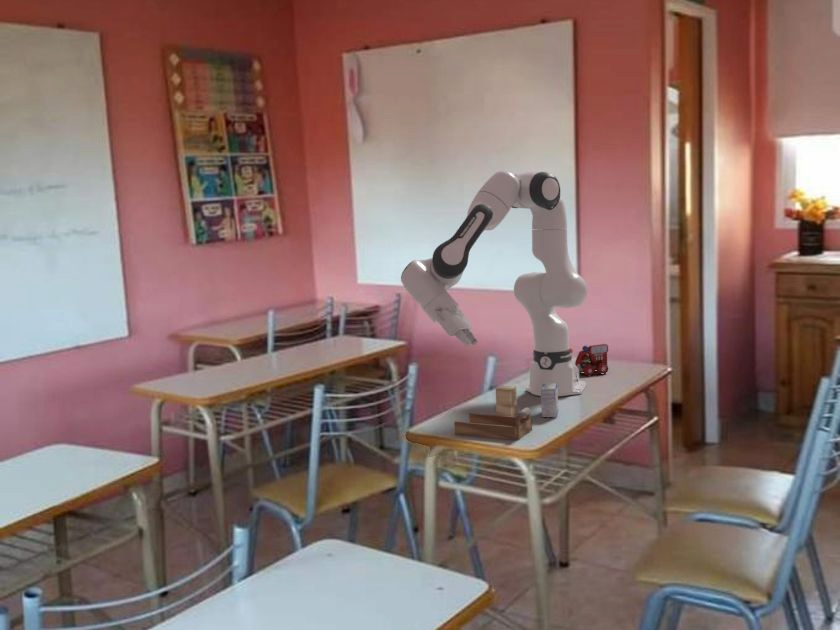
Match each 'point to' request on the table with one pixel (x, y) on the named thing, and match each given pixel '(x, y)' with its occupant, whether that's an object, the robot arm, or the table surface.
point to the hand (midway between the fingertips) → (472, 344)
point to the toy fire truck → (592, 359)
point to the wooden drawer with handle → (496, 425)
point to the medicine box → (549, 400)
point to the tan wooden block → (506, 401)
